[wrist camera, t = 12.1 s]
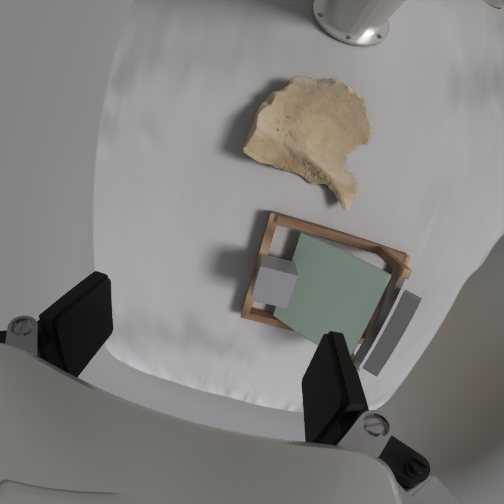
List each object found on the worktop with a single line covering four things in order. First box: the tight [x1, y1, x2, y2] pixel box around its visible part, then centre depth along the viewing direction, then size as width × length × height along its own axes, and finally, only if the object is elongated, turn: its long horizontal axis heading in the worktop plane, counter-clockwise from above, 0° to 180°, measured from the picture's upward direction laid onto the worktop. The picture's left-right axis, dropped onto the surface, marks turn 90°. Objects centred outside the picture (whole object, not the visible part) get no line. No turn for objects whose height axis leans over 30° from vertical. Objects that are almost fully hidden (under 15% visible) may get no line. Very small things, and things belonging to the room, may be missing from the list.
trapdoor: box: [273, 233, 422, 376], centre depth 35 cm, size 14×19×2 cm
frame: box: [241, 211, 412, 372], centre depth 37 cm, size 17×23×11 cm
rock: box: [242, 76, 372, 212], centre depth 33 cm, size 18×15×4 cm
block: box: [251, 253, 298, 309], centre depth 38 cm, size 5×5×5 cm
